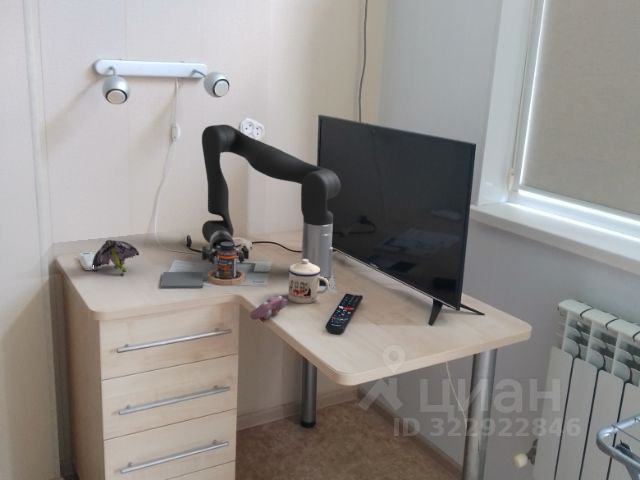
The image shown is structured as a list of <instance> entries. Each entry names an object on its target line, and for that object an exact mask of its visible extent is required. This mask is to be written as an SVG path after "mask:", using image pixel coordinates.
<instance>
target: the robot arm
mask: <svg viewBox="0 0 640 480" xmlns="http://www.w3.org/2000/svg"><path fill="white" fill-rule="evenodd" d="M201 145H202V153H203V160H204V166H205V172H206V173H205V174H206V180H207V211H208V213H210V214H211V215H215V216H218V217H221V218H222V220H221V219H218V220H217V219H212V220H211V219H210V220H206V221H205V222H204V223H203V225H202V228H201V233H202V237H203V239H204V240H205V241H206V242H208V243H209V247H210V248H208V247H207V246H201V259H202V261H206V260H208V263H211V264H212V265H214V264H215V261H217V252H218V250H219V249H221V248H220V246H221V243H222V242H232V243H234V250H236V252H237V260H238V262H239V264H243V262H245V260H249V258H250V257H249V255H250V250H249V249H248V248H247V246H246V245H242V247H240V248H238V247H237V246H236V245H235V241H234V238H233V236H234V227H233V223H232V220H231V217H230V210H229V205H230V204H229V203H230V202H229V200H230V199H229V195H230V194H229V193H230V192H229V186H228V183H227V180H226V179H225V177H224V176H225V175H224V174H223V171H222V168H221V154H222V153H232V154H235V155H237V156H240V157H242V158H243V159H245V160H246V161H247V162H248V164H249V165H250V166H251V168H253V169H254V170H255V171H257V172H259V173H261V174H263V175H265V176H266V177H270V178H273V179H275V180H279V181H286V182H291V183H297V184H300V186H301V189H300V210H301V211H300V212H301V215H302V216H303V218H302V219H303V221H302V237H301V238H302V239H301V240H302V242H301V243H302V244H301V259H300V260H301V261H300V262H302V259H307V260H308V261H309V263H311V264H313V265H316V266H318V267H319V268H320V271H321V272H320V276H319V277H326V278H331V277H332V272H333V271H332V269H333V268H332V267H333V251H334V249H333V248H334V247H333V246H332V243H333V225H334V224H333V223H334V215H333V214H334V213H332V212H331V211H329V210H328V203H327V201H328V200H329V199H332V198H334V197H336V195H338V194H339V193H340V191H341V188H342V186H341V179H339V177H338V175H337V174H336V173H335V172H334V171H332V170H331V169H328V168H325V167H321V166H318V165H315V164H312V163H309V162H307V161H304V160H302V159H300V158H298V157H296V156H294V155H291V154H289V153H287V152H285V151H283V150H282V149H279V148H276V147H275V146H273V145H270V144H267V143H265V142H262V141H260V140H258V139H256V138H252V137H250V136H249V135H246V134H245V133H243V132H242V131H240V130H238V129H237V128H235V127H233V126H231V125H229V124H216V125H215V124H214V125H208V126H206V127H205V129H204V130H203V131H202V135H201Z"/></svg>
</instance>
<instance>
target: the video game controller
mask: <svg viewBox="0 0 640 480" xmlns="http://www.w3.org/2000/svg"><path fill="white" fill-rule="evenodd" d="M287 304H288V300H287V299H286V298H285V297H283V296H281V295H278V296H272V297H269V298H267V300H266V301H264V302H262V303H261V304H259V306H258V307H256V308H255V309H253V310H252V311H251V312H250V314H249V315H250V316H249V317H250V318H251V319H252V320H259V319H262V318H264V320H267V319H269V318H270V317H271V316H274V317H275V316H277V315H278V314H279V313H280V311H281V310H283V308H285V307H286V305H287Z"/></svg>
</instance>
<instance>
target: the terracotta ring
mask: <svg viewBox="0 0 640 480" xmlns="http://www.w3.org/2000/svg"><path fill="white" fill-rule="evenodd" d="M236 274H237V275H236V276H238V275H239V276H240V277H239V276H238V277H236V279H231V280H222V279H217V277H215V276H217V268H216V269H213V270H211V271H209V272H208V273H207V281H209V282H210V283H212V284H214V285H219V286H235V285H238V284H241V283H243V282H244V281H245V279H246V277H245V276H246V275H245V274H246V273H245V272H244V271H242V270H240V269H236Z"/></svg>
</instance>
